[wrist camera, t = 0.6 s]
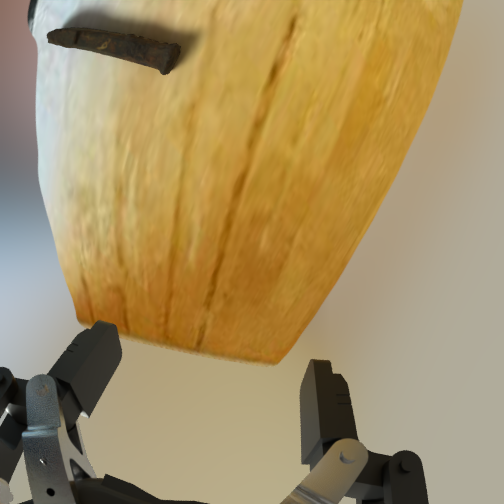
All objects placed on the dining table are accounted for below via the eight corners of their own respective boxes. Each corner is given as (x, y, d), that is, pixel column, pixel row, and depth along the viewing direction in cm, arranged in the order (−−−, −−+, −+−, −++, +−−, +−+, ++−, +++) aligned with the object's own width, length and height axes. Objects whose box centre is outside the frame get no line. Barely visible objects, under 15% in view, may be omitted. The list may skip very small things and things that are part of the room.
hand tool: (186, 46, 25) (176, 45, 22) (172, 74, 27) (160, 77, 24) (67, 15, 20) (47, 15, 16) (57, 41, 22) (36, 44, 18)
